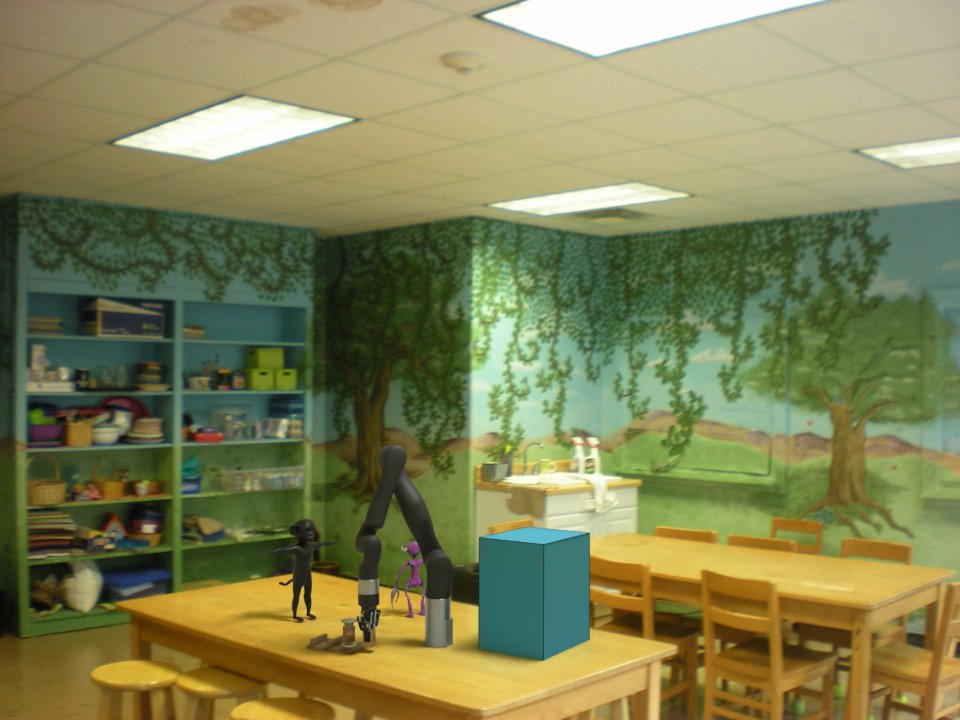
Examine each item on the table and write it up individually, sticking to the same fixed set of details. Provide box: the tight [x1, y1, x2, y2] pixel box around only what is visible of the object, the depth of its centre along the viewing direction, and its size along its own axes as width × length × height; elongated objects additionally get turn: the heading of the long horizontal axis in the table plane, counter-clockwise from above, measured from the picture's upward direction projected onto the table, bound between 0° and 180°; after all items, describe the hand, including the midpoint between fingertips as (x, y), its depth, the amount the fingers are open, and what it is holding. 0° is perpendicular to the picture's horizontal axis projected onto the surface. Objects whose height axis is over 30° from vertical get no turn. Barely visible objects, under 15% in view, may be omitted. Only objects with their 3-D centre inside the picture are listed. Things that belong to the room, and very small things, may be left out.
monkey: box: [261, 518, 341, 623], centre depth 396 cm, size 40×20×40 cm, turn 140°
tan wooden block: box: [361, 627, 378, 649], centre depth 344 cm, size 4×4×6 cm
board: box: [306, 617, 366, 655], centre depth 349 cm, size 18×12×10 cm, turn 66°
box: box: [477, 526, 591, 662], centre depth 353 cm, size 27×33×40 cm
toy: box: [390, 541, 426, 619], centre depth 400 cm, size 19×9×30 cm, turn 130°
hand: (369, 640), depth 344 cm, fingers closed on tan wooden block, 2 cm apart
